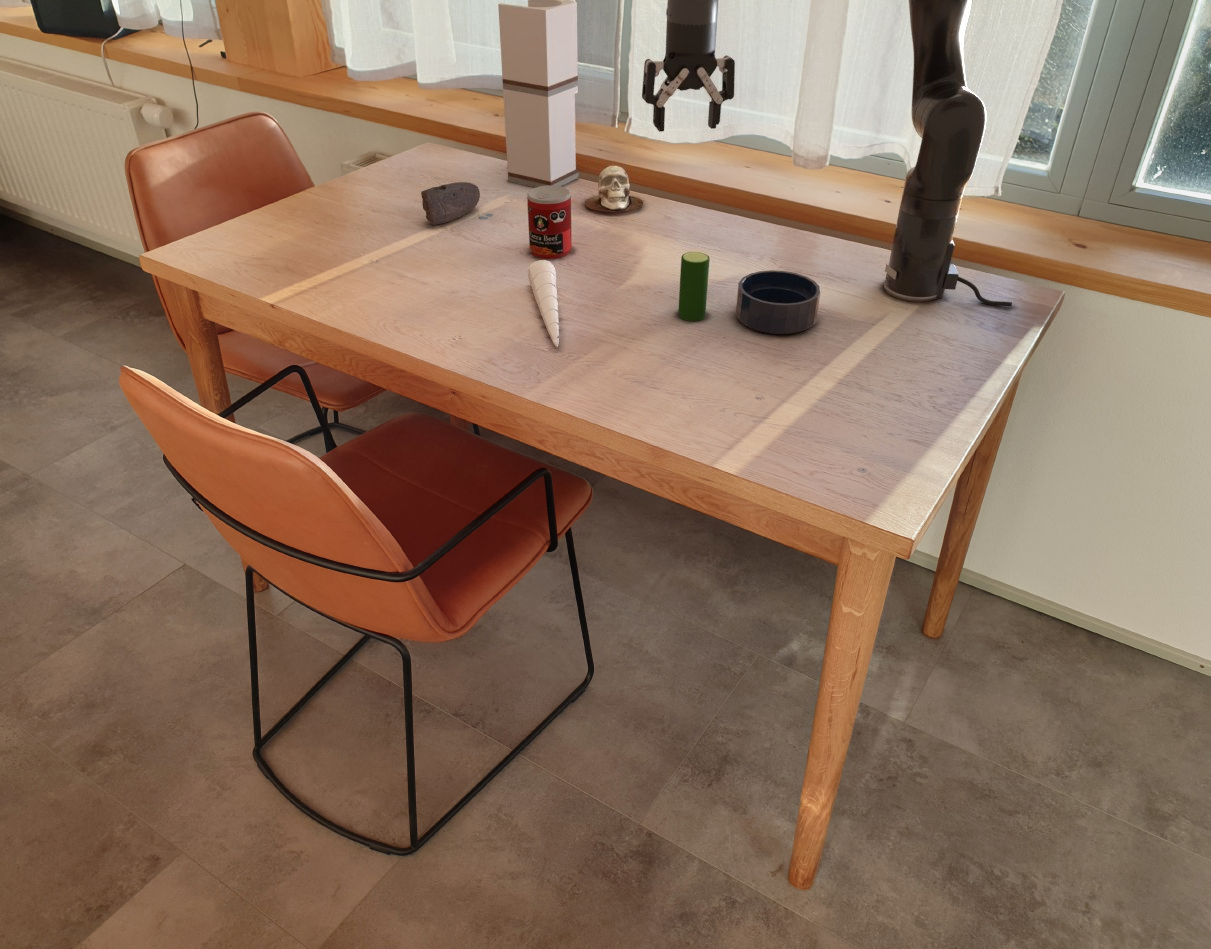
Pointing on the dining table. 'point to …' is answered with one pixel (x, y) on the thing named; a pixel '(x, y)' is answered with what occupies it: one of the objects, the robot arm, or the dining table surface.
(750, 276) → the bowl
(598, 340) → the dining table surface
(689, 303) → the cucumber
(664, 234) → the dining table surface
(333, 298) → the dining table surface
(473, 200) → the perforated stone tool
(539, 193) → the canned food
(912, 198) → the robot arm
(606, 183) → the skull
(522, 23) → the striped white pillar
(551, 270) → the unicorn horn
